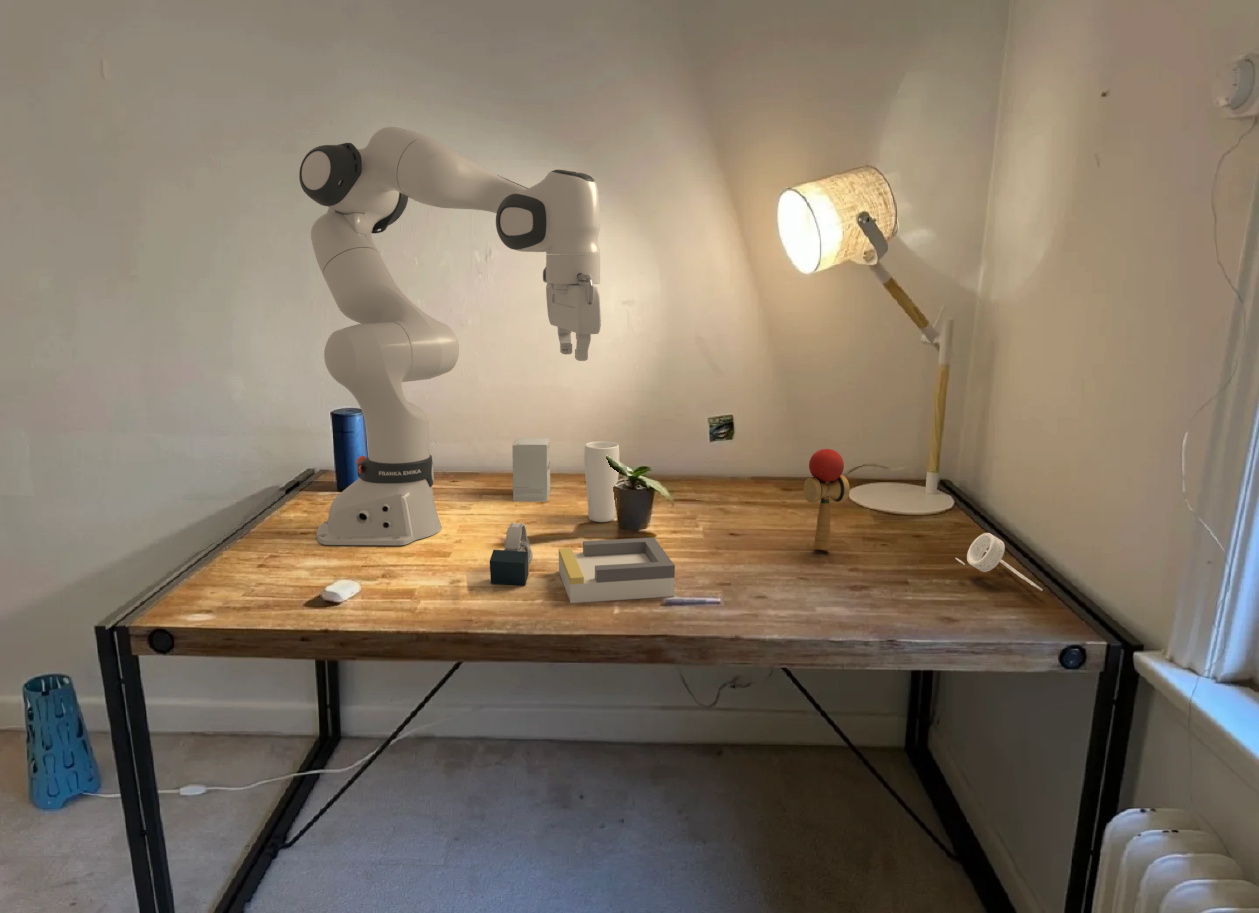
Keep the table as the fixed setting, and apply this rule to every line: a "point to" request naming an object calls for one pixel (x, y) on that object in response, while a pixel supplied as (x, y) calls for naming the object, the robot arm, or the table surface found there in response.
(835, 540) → the table surface
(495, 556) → the watch
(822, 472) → the kendama
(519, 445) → the supplement box
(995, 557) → the wheel on axle
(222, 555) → the table surface
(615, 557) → the dock
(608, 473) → the white vase
